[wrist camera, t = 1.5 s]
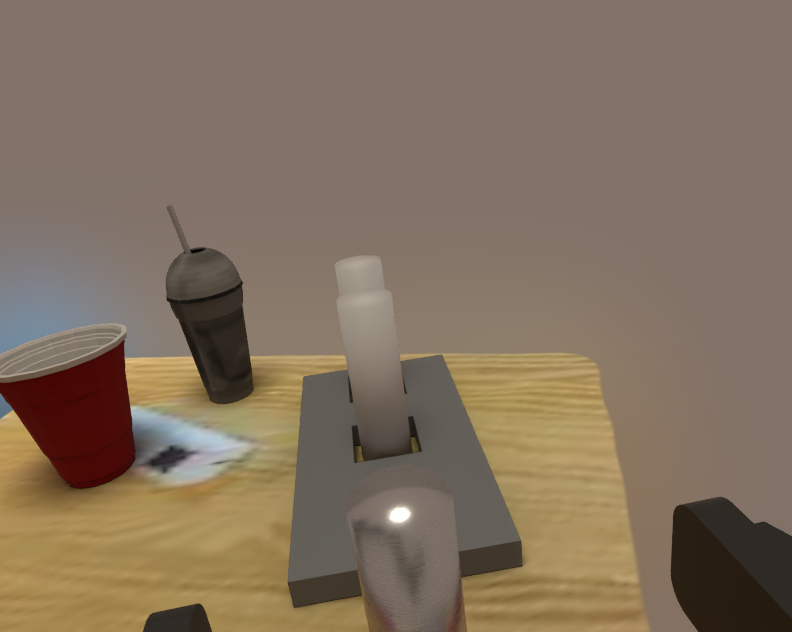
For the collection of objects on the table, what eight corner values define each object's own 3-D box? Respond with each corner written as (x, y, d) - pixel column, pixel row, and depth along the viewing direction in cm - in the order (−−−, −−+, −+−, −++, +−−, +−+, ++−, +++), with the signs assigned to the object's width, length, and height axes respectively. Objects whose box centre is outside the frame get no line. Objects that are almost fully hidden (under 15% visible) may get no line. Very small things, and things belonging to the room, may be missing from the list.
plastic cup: (146, 418, 59) (110, 306, 54) (181, 465, 50) (141, 338, 46) (24, 467, 53) (-28, 347, 48) (40, 529, 45) (-22, 392, 40)
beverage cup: (276, 393, 60) (232, 199, 52) (205, 419, 57) (147, 216, 49) (254, 368, 66) (211, 191, 58) (189, 391, 63) (135, 206, 55)
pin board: (293, 607, 35) (242, 405, 30) (307, 394, 59) (279, 261, 54) (522, 565, 36) (511, 362, 31) (443, 372, 60) (430, 239, 55)
